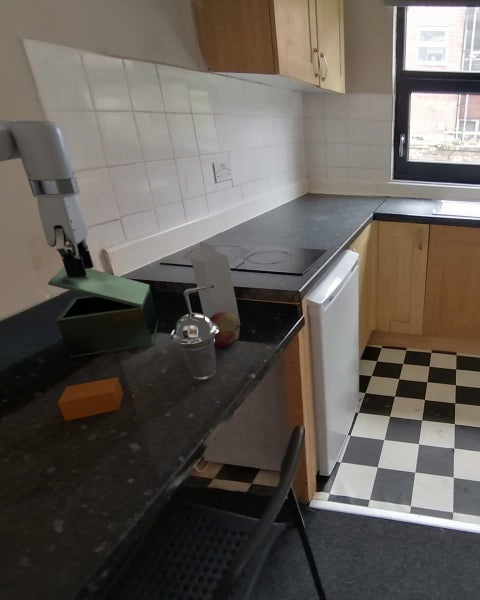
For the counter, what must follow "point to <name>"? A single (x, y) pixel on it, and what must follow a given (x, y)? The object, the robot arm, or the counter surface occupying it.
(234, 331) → the fruit
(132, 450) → the counter surface
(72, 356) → the dark green storage bin
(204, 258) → the milk
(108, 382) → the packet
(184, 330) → the cup with straw
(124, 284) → the bin lid
